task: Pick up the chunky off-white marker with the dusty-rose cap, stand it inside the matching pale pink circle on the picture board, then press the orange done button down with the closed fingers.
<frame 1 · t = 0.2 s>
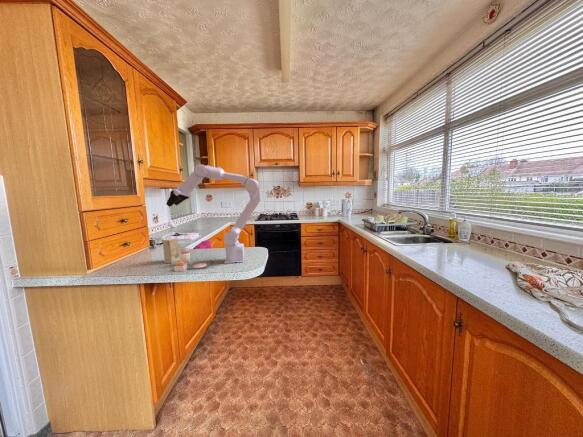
hand: (171, 204, 114), 30 cm above the countertop, tool tilted 45°, fingers open, 7 cm apart
rose marker: (186, 264, 117), on the countertop
picture board: (200, 265, 114), on the countertop
skincare box: (172, 261, 123), on the countertop
done button: (180, 264, 109), point 3 cm above the countertop, slide at 0.0 cm
button housing: (181, 269, 109), on the countertop
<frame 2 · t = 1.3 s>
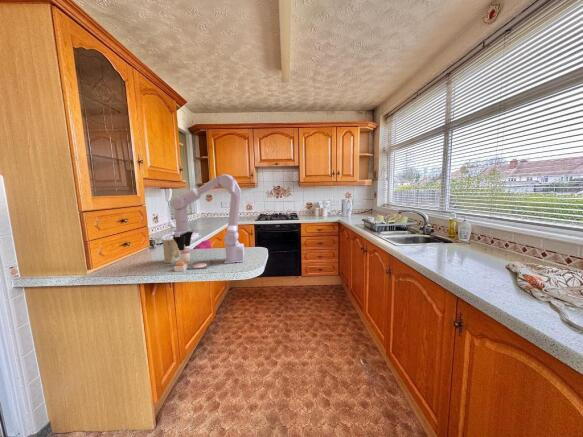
hand: (184, 247, 116), 8 cm above the countertop, tool pointing down, fingers open, 7 cm apart
nothing on the countertop moved.
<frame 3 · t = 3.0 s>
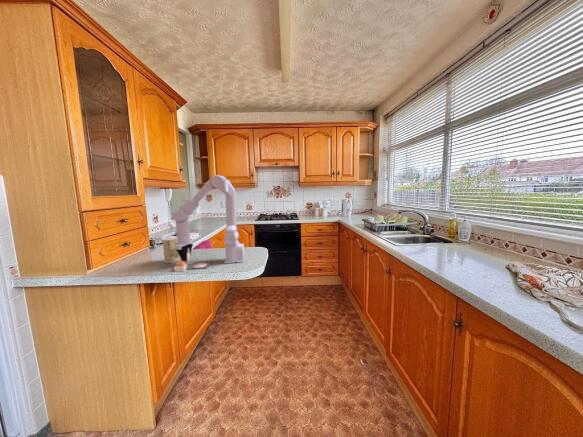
hand: (186, 259, 117), 2 cm above the countertop, tool pointing down, fingers closed on rose marker, 4 cm apart
rose marker: (186, 264, 117), on the countertop, touching gripper
everything else where it was.
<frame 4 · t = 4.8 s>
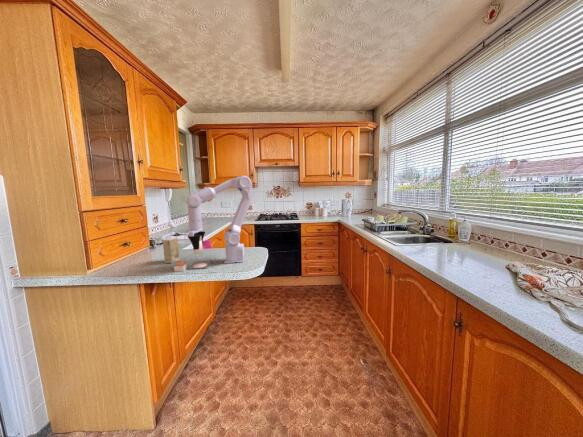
hand: (198, 248, 111), 9 cm above the countertop, tool pointing down, fingers closed on rose marker, 4 cm apart
rose marker: (198, 252, 112), point 7 cm above the countertop, touching gripper
everything else where it was.
when the fingers open (4 cm above the countertop, at t = 6.7 s): rose marker stays where it is, resting on picture board.
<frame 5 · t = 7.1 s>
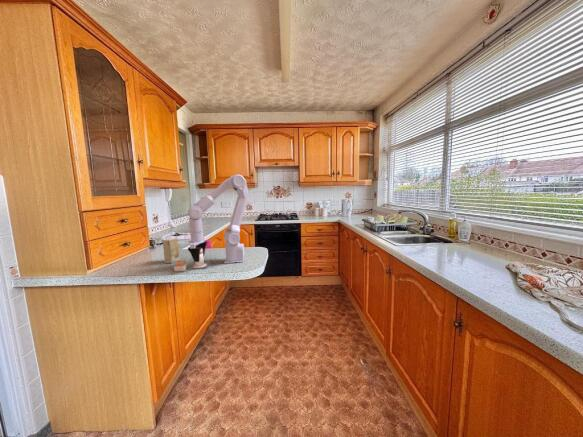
hand: (199, 259, 112), 4 cm above the countertop, tool pointing down, fingers open, 7 cm apart
rose marker: (199, 265, 112), point 1 cm above the countertop, touching picture board
everything else where it was.
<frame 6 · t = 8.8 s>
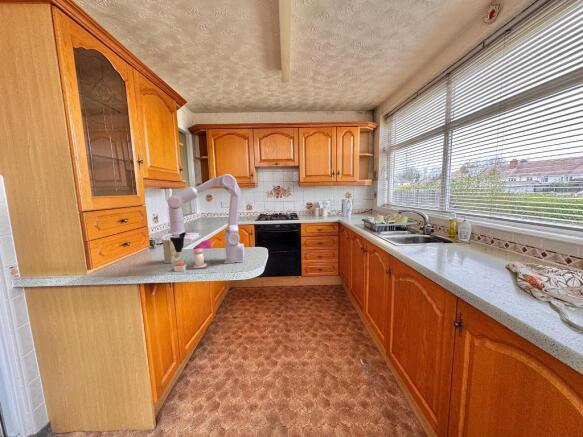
hand: (179, 249, 108), 10 cm above the countertop, tool pointing down, fingers open, 7 cm apart
nothing on the countertop moved.
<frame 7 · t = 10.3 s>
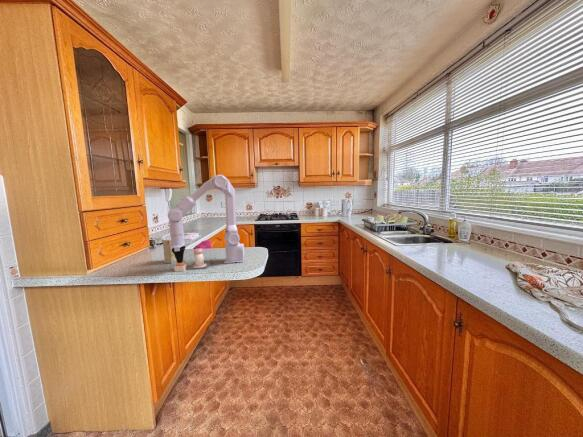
hand: (180, 262, 109), 3 cm above the countertop, tool pointing down, fingers closed, pressing on done button
done button: (180, 264, 109), point 3 cm above the countertop, slide at 0.2 cm, touching gripper
everything else where it was.
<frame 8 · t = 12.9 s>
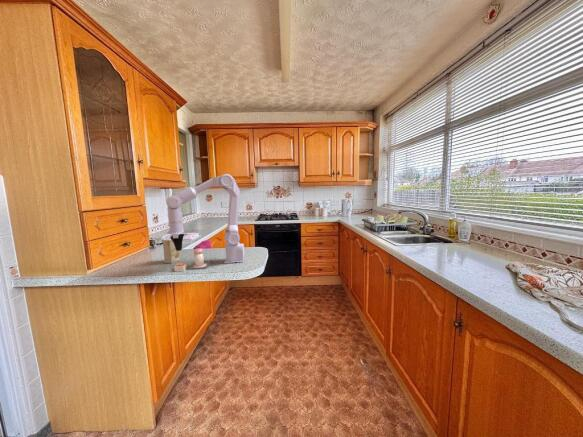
hand: (179, 250, 108), 9 cm above the countertop, tool pointing down, fingers closed
done button: (180, 265, 109), point 2 cm above the countertop, slide at 0.8 cm
everything else where it was.
at the end: rose marker 0.0 cm from the target spot, point 0.7 cm above the countertop; rose marker tilted 0°; done button slide at 0.8 cm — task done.
